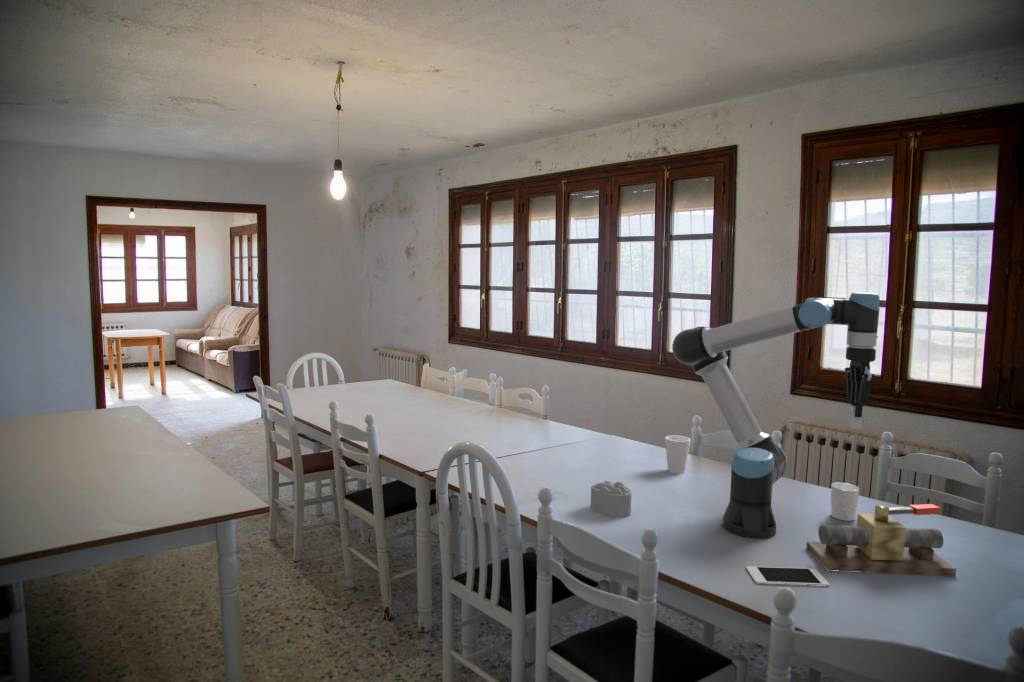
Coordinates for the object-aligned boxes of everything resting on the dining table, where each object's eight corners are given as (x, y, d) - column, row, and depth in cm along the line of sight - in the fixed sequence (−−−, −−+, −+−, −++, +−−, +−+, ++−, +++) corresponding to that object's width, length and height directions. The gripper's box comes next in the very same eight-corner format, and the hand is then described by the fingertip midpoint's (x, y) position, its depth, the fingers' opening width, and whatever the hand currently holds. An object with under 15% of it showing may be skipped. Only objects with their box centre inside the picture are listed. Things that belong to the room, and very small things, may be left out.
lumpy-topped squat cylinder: (607, 501, 217) (608, 476, 216) (638, 512, 207) (639, 486, 206) (586, 508, 210) (586, 482, 209) (617, 520, 201) (618, 493, 200)
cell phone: (745, 569, 170) (745, 565, 170) (815, 571, 169) (815, 568, 169) (755, 585, 161) (756, 581, 161) (830, 588, 160) (830, 584, 160)
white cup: (825, 517, 206) (827, 486, 205) (833, 510, 212) (835, 480, 211) (852, 523, 201) (855, 492, 200) (860, 517, 206) (862, 486, 205)
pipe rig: (828, 571, 169) (831, 528, 167) (806, 548, 182) (809, 508, 181) (955, 576, 167) (959, 533, 166) (924, 552, 181) (927, 512, 180)
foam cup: (669, 466, 257) (671, 434, 255) (692, 470, 251) (694, 437, 250) (660, 472, 249) (661, 439, 248) (683, 477, 244) (684, 443, 242)
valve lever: (939, 519, 174) (940, 506, 174) (879, 521, 172) (880, 509, 171) (930, 514, 177) (931, 502, 177) (871, 517, 175) (872, 505, 174)
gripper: (886, 349, 180) (879, 433, 182) (863, 344, 193) (857, 422, 195) (858, 349, 180) (852, 432, 183) (837, 343, 193) (832, 421, 196)
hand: (855, 427), depth 189 cm, fingers closed
